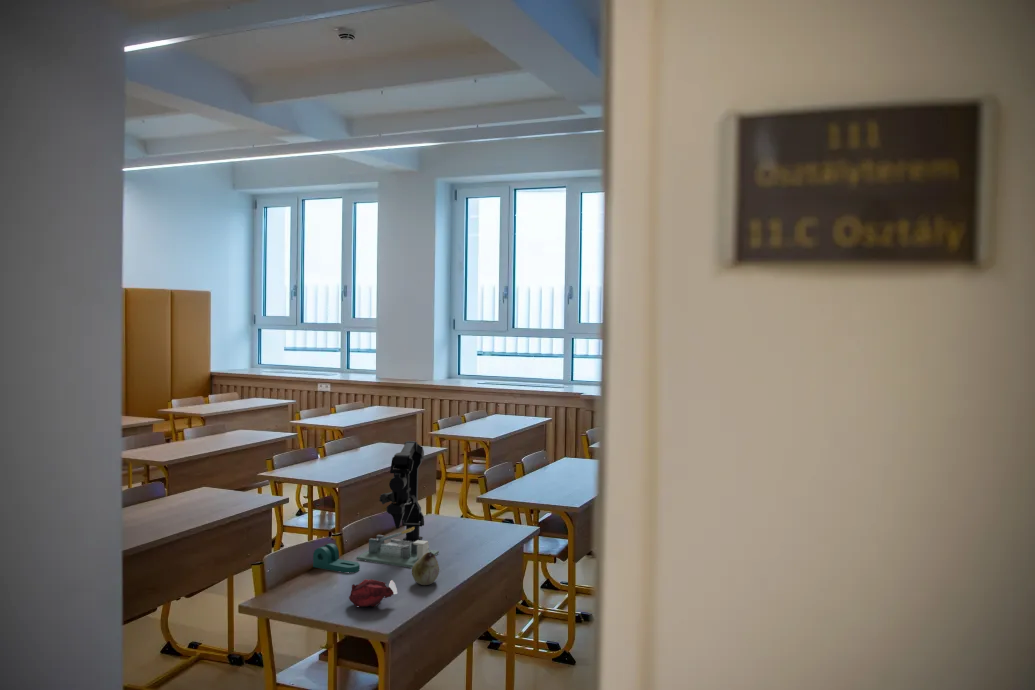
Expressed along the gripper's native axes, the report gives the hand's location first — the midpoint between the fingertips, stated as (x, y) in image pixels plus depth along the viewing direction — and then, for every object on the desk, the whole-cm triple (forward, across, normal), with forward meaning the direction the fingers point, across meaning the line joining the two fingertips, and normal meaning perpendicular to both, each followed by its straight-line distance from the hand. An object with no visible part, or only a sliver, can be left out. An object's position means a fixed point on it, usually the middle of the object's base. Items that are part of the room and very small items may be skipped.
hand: (401, 525), depth 290 cm
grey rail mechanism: (+12, -2, -4) cm, 13 cm away
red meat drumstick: (+13, +50, +7) cm, 52 cm away
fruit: (+13, +26, +18) cm, 34 cm away
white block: (+12, 0, +8) cm, 14 cm away
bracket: (+13, +17, -19) cm, 29 cm away
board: (+13, -1, -2) cm, 13 cm away
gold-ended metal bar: (+6, -2, -4) cm, 7 cm away
